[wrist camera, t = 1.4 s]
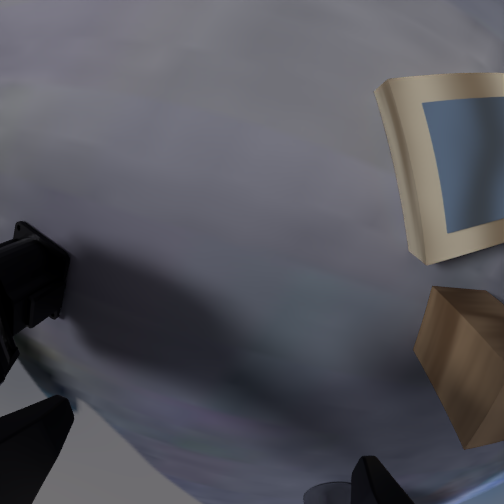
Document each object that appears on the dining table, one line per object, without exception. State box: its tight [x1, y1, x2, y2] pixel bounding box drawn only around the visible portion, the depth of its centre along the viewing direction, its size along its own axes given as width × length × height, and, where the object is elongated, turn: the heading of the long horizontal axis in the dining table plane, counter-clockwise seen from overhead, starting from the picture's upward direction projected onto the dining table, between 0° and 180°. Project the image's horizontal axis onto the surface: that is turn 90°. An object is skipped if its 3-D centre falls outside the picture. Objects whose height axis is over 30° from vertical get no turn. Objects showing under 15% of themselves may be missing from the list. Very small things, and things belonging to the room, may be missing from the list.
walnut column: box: [413, 286, 504, 450], centre depth 14 cm, size 5×5×10 cm
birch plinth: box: [374, 73, 504, 265], centre depth 15 cm, size 10×10×3 cm
